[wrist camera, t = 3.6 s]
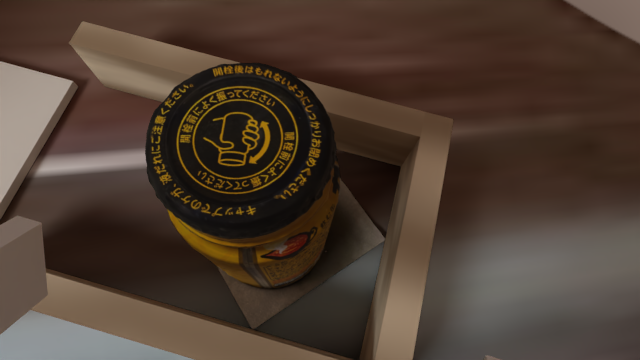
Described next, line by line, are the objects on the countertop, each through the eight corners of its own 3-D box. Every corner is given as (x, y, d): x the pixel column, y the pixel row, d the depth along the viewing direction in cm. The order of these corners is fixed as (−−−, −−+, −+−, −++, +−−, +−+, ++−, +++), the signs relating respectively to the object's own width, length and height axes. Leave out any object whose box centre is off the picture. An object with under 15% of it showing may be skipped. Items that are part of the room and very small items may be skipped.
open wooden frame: (115, 66, 25) (82, 21, 21) (429, 151, 24) (453, 119, 20) (-7, 285, 20) (-78, 277, 16) (381, 402, 19) (401, 421, 15)
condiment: (187, 213, 22) (67, 97, 11) (313, 141, 24) (326, -23, 12) (252, 330, 20) (192, 339, 9) (384, 241, 22) (475, 154, 11)
